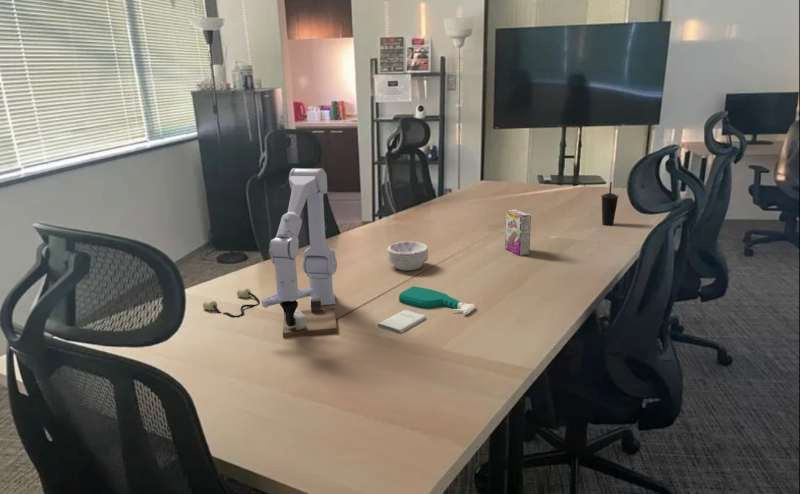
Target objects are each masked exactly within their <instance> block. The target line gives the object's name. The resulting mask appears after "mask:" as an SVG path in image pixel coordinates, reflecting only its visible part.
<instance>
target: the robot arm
mask: <svg viewBox="0 0 800 494" xmlns="http://www.w3.org/2000/svg"><path fill="white" fill-rule="evenodd" d="M288 181H289V183H288V184H289V187H290V189H291V191H290V192H291V193H290V198H289V203H288V208H287V212H286V213H284V214H283V215H281V218H280V223H279V226H278V228H277V229H278V230H277V233H276V236H275V237H274V238H272V239H271V240H270V242H269V249H268V253H269V256H270V258H271V264H273V265H274V272H275V273H274V274H275V283H276V293H275V294H273V295H270V296H269V297H266V298H262V299H261V305H262V307H263V308H264V309H266V308H269V307H271V306H275V305H280V307H281V308H282V310H283V313H284V312H285V314H286V324H287V325H288V326H289V327H291V326H294V317H293V316H294V313H295V310H296V308H298V305H299V302H298V301H297V300H298V299H304V298H308V297H309V306H310V307H311V299H317V298H321V306H329V305H336V299H335V298H336V297H335V292H334V288H333V287H334V286H333V275H335V273H336V271H337V269H338V268H337V267H338V261H337V258H336V251H335V250H334V249H333V248H331V247H330V246H328V245H327V244H326V243H327V241H326V240H327V239H326V223H325V208H324V205H325V204H324V195H325V194H327V193H328V175H327V173H326V171H325V169H324V168H323V167H322V168H320V167H319V168H297V167H293V168H291V170H290V172H289V175H288ZM306 202H307V217H308V218H307V219H308V232H309V233H308V235H309V236H308V237H309V247H308V248H306V249H305V250H304V252H303V254H302V256H303V257H302V258H303V259H302V261H301V262H302V264H301V265H302V270H303V272H304V274H306V277H309V278H308V279H309V280H308V281H309V287H308V288H302V289H301V288H300V289H299V287H298V285H299V284H298V275H297V274H298V273H297V264H296V262H297V261H296V260H297V259H296V258H297V256H298V253H299V244H300V243H299V242H300V240H299V235H300V231H301V228H302V224H303V220H302V218H301V217H300V216H301V214H302V212H303V209H304V207H305V204H306Z"/></svg>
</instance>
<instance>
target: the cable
mask: <svg viewBox="0 0 800 494" xmlns="http://www.w3.org/2000/svg"><path fill="white" fill-rule="evenodd" d="M236 296H238V297H239V298H243V299H247V298H249V297H250V296H251V297H252V298H253V299H255V300H256V302H257V303H256V304H243V305H241V307H240V312H241V314H238V315H237V314H235V315H233V314H231V313H230V312H222V311H221V310H219V309H218V303H217V301H215V300H208V299H206V300H205V301H204V302H203V304H202V308H203V309H204V310H205V309H208V310H207V311H210V310H214V311H215V312H216V313H218V312H219V313H223V314H222V315H226V314H227V315H226V316H229V317H230V316H231V318H234V317H237V318H240V316H241V317H243V316H244V315H245V312H244V308H253V307H257V306H259V305H260V304H261V302H260V299H259V298H258V296H257V295H255V294H253V293H252V292H251V290H250V288H246V287H244V288H243V287H239V288H238V290H237V292H236ZM219 313H218V314H219Z"/></svg>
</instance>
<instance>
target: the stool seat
mask: <svg viewBox="0 0 800 494" xmlns="http://www.w3.org/2000/svg"><path fill="white" fill-rule="evenodd" d="M300 311H301V312H302V313H303V314H304V315H305V316H306V325H307V328H304V329H300V330H296V329H295V328H294V327H293V326H291V327H289V326H288V325H287V324H286V318H285V317H284V316H283V326H282V339H285V338H296V337H305V336H306V337H307V336H315V335H326V334H329V335H330V334H337V333H338V329H337V328H338V327H337V319H336V310H335V307H327V308H322V305H321V298H317V299H311V306H310V309H305V310H300Z"/></svg>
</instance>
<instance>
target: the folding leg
mask: <svg viewBox="0 0 800 494" xmlns="http://www.w3.org/2000/svg"><path fill="white" fill-rule="evenodd" d="M301 311H302V310H300V309H299V308H298V307H297V308H296V310H295V313H294V316H293V317H294V326H293V327H294V328H295V329H296V330H300V329H304V328H307V325H306V316H305V315H304V314H303V313H302V312H301ZM284 317H285V318H286V314H285V312H284V311H283V318H284Z"/></svg>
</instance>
